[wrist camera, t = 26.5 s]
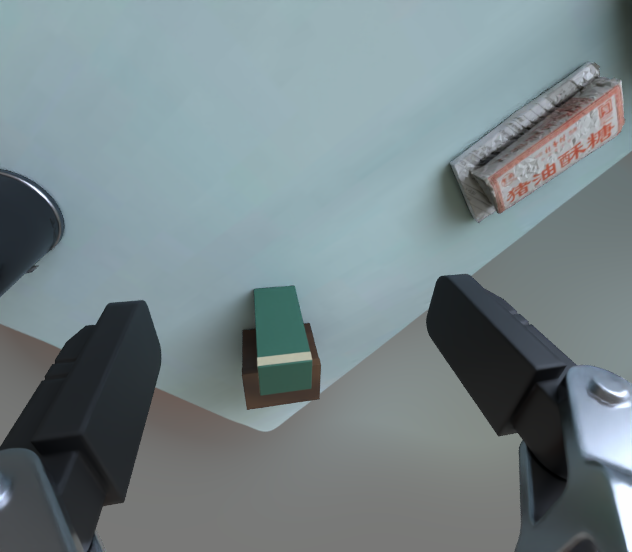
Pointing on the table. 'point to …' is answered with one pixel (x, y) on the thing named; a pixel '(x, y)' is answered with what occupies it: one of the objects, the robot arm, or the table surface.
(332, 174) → the table surface
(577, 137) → the packaged product
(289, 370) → the green block
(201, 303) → the table surface
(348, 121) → the table surface
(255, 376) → the walnut box
